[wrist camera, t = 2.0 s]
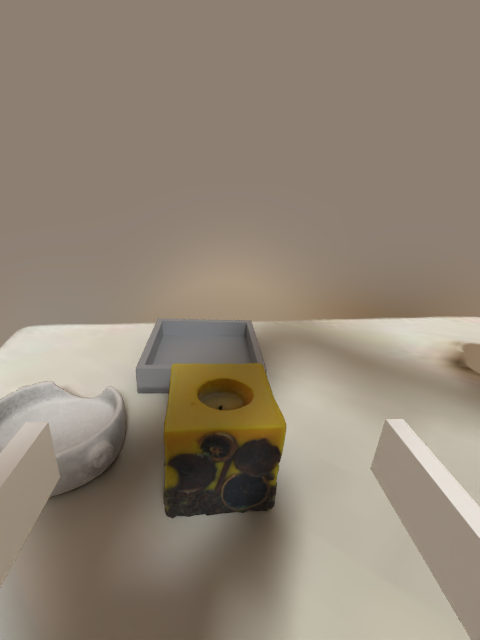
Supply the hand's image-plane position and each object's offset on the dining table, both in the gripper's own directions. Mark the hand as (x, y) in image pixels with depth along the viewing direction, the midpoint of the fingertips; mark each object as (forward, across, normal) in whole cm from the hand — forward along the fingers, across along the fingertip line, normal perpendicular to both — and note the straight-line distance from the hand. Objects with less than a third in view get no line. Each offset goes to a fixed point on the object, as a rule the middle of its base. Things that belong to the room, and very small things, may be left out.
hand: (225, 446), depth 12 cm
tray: (+36, -1, -17) cm, 40 cm away
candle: (+14, +1, -17) cm, 22 cm away
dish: (+17, -16, -18) cm, 29 cm away
